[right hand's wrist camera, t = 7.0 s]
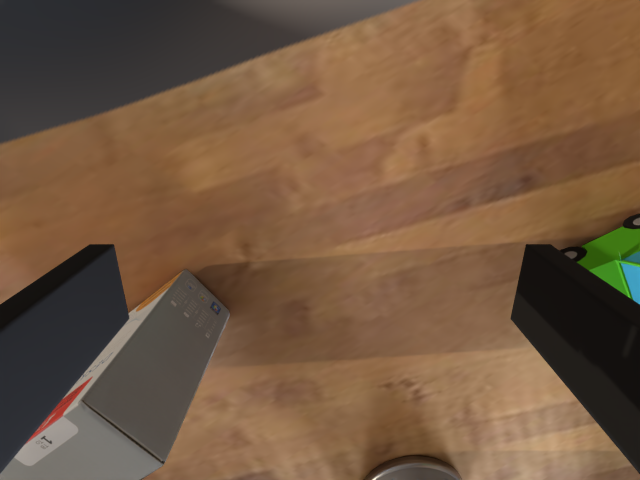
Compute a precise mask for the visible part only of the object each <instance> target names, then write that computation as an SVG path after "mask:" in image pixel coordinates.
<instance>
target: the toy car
mask: <svg viewBox="0 0 640 480" xmlns="http://www.w3.org/2000/svg"><path fill="white" fill-rule="evenodd" d="M561 252H562V253H564V254H565V255H567V256H568V257H570V258H571V259H573V260H574V261H576V262H577V263H579V264H580V265H582V266H583V267H584V268H586V269H587V270H589V271H590V272H592V273H593V274H595V275H596V276H598V277H599V278H601V279H602V280H604V281H605V282H607V283H608V284H610V285H611V286H613V287H614V288H616V289H617V290H619V291H620V292H622V293H623V294H625V295H626V296H628V297H629V298H631V299H632V300H634V301H635V302H637V303H638V304H640V214H637V215H634V216H631V217H629V218H628V219H626V220H625V221H624V223H623V226H622V227H620V228H618V229H616V230H614V231H612V232H610V233H608V234H606V235H604V236H602V237H599V238H597V239H595V240H593V241H591V242H589V243H587V244H585V245H583V246H582V248H580V247H569V248H566V249H563V250H561Z"/></svg>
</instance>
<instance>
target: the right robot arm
mask: <svg viewBox="0 0 640 480" xmlns="http://www.w3.org/2000/svg"><path fill="white" fill-rule="evenodd" d="M128 320H129V314H128V309H127V305H126V300H125V295H124V290H123V286H122V281H121V276H120V271H119V267H118V262H117V257H116V252H115V248H114V244H90V245H88V246H87V247H85V248H84V249H82V250H81V251H79V252H78V253H76V254H75V255H73V256H72V257H70V258H69V259H67V260H66V261H64V262H63V263H61V264H60V265H58V266H57V267H56V268H54V269H53V270H51V271H50V272H48V273H47V274H45V275H44V276H42V277H41V278H39V279H38V280H36V281H35V282H33V283H32V284H30V285H29V286H27V287H26V288H24V289H23V290H21V291H20V292H18V293H17V294H15V295H14V296H12V297H11V298H9V299H8V300H6V301H5V302H3V303H2V304H0V474H1V472H2V471H3V470H4V469H5V468H6V466H7V465H8V464H9V463H10V462H11V460H12V459H13V458H14V457H15V456H16V454H17V453H18V452H19V451H20V450H21V448H22V447H23V446H24V445H25V444H26V442H27V441H28V440H29V439H30V438H31V436H32V435H33V434H34V433H35V432H36V430H37V429H38V428H39V427H40V426H41V424H42V423H43V422H44V421H45V420H46V418H47V417H48V416H49V415H50V414H51V412H52V411H53V410H54V409H55V408H56V406H57V405H58V404H59V403H60V402H61V400H62V399H63V398H64V397H65V395H66V394H67V393H68V392H69V391H70V389H71V388H72V387H73V386H74V385H75V383H76V382H77V381H78V380H79V379H80V377H81V376H82V375H83V374H84V373H85V371H86V370H87V369H88V368H89V367H90V365H91V364H92V363H93V362H94V361H95V359H96V358H97V357H98V356H99V355H100V353H101V352H102V351H103V350H104V349H105V347H106V346H107V345H108V344H109V343H110V341H111V340H112V339H113V338H114V337H115V335H116V334H117V333H118V332H119V331H120V329H121V328H122V327H123V326H124V325H125V323H126V322H127V321H128ZM511 320H512V321H513V322H514V323H515V325H516V326H517V327H518V328H519V329H520V331H521V332H522V333H523V334H524V335H525V337H526V338H527V339H528V340H529V341H530V343H531V344H532V345H533V346H534V347H535V349H536V350H537V351H538V352H539V353H540V355H541V356H542V357H543V358H544V359H545V361H546V362H547V363H548V364H549V365H550V367H551V368H552V369H553V370H554V371H555V373H556V374H557V375H558V376H559V377H560V379H561V380H562V381H563V382H564V383H565V385H566V386H567V387H568V388H569V389H570V391H571V392H572V393H573V394H574V395H575V397H576V398H577V399H578V400H579V402H580V403H581V404H582V405H583V406H584V408H585V409H586V410H587V411H588V412H589V414H590V415H591V416H592V417H593V418H594V420H595V421H596V422H597V423H598V424H599V426H600V427H601V428H602V429H603V430H604V432H605V433H606V434H607V435H608V436H609V438H610V439H611V440H612V441H613V442H614V444H615V445H616V446H617V447H618V448H619V450H620V451H621V452H622V453H623V454H624V456H625V457H626V458H627V459H628V460H629V462H630V463H631V464H632V465H633V466H634V468H635V469H636V470H637V471H638V472H639V474H640V304H638V303H637V302H635V301H634V300H632V299H631V298H629V297H628V296H626V295H625V294H623V293H622V292H620V291H619V290H617V289H616V288H614V287H613V286H611V285H610V284H608V283H607V282H605V281H604V280H602V279H601V278H599V277H598V276H596V275H595V274H593V273H592V272H590V271H589V270H587V269H586V268H584V267H583V266H582V265H580V264H579V263H577V262H576V261H574V260H573V259H571V258H570V257H568V256H567V255H565V254H564V253H562V252H561V251H559V250H558V249H556V248H555V247H553V246H552V245H550V244H526V248H525V252H524V257H523V262H522V267H521V271H520V276H519V281H518V286H517V290H516V295H515V300H514V305H513V309H512V314H511ZM364 480H462V479H461V477H460V475H459V474H458V472H457V471H456V470H455V469H454V468H453V467H451V466H450V465H448V464H447V463H445V462H443V461H441V460H438V459H434V458H430V457H424V456H408V457H401V458H397V459H393V460H390V461H388V462H385V463H383V464H381V465H380V466H378V467H376V468H375V469H374V470H372V471H371V472H370V473H369V474H368V475H367V476H366V478H365V479H364Z"/></svg>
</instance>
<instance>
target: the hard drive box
mask: <svg viewBox="0 0 640 480" xmlns="http://www.w3.org/2000/svg"><path fill="white" fill-rule="evenodd" d="M128 314H129V320H128V321H127V322H126V323H125V325H124V326H123V327H122V328H121V329H120V331H119V332H118V333H117V334H116V335H115V337H114V338H113V339H112V340H111V341H110V343H109V344H108V345H107V346H106V347H105V349H104V350H103V351H102V352H101V353H100V355H99V356H98V357H97V358H96V359H95V361H94V362H93V363H92V364H91V365H90V367H89V368H88V369H87V370H86V371H85V373H84V374H83V375H82V376H81V377H80V379H79V380H78V381H77V382H76V383H75V385H74V386H73V387H72V388H71V389H70V391H69V392H68V393H67V394H66V395H65V397H64V398H63V399H62V400H61V402H60V403H59V404H58V405H57V406H56V408H55V409H54V410H53V411H52V412H51V414H50V415H49V416H48V417H47V418H46V420H45V421H44V422H43V423H42V424H41V426H40V427H39V428H38V429H37V430H36V432H35V433H34V434H33V435H32V436H31V438H30V439H29V440H28V441H27V442H26V444H25V445H24V446H23V447H22V448H21V450H20V451H19V452H18V453H17V454H16V456H15V457H14V458H13V459H12V460H11V462H10V463H9V464H8V465H7V466H6V468H5V469H4V470H3V471H2V472H1V474H0V480H142V479H143V478H145V477H146V476H148V475H149V474H151V473H153V472H154V471H156V470H157V469H159V468H160V467H162V466H163V465H164V463H165V461H166V459H167V457H168V455H169V453H170V450H171V448H172V446H173V444H174V441H175V440H176V437H177V435H178V432H179V430H180V428H181V425H182V423H183V421H184V418H185V416H186V414H187V412H188V409H189V407H190V405H191V402H192V400H193V398H194V396H195V393H196V391H197V389H198V387H199V384H200V382H201V380H202V378H203V375H204V373H205V371H206V368H207V366H208V364H209V362H210V359H211V357H212V355H213V353H214V350H215V348H216V346H217V344H218V341H219V339H220V337H221V334H222V332H223V330H224V328H225V325H226V323H227V321H228V318H229V316H230V313H229V310H228V309H227V308H226V307H225V306H224V305H223V304H222V303H221V302H220V301H219V300H218V299H217V298H216V297H215V296H214V295H213V294H212V293H211V292H210V291H209V290H207V289H206V288H205V287H204V286H203V285H202V284H201V283H200V282H199V281H198V280H197V279H196V278H195V277H194V276H193V275H192V274H191V273H190V272H189V271H188V270H187V269H185V270H183V271H182V272H181V273H179V274H178V275H177V276H175V277H174V278H173V279H172V280H170V281H169V282H168V283H166V284H165V285H164V286H163V287H161V288H160V289H159V290H158V291H156V292H155V293H154V294H153V295H151V296H150V297H149V298H147V299H146V300H145V301H144V302H142V303H141V304H140V305H139V306H137V307H136V308H135V309H133V310H132V311H131V312H130V313H128Z"/></svg>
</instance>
